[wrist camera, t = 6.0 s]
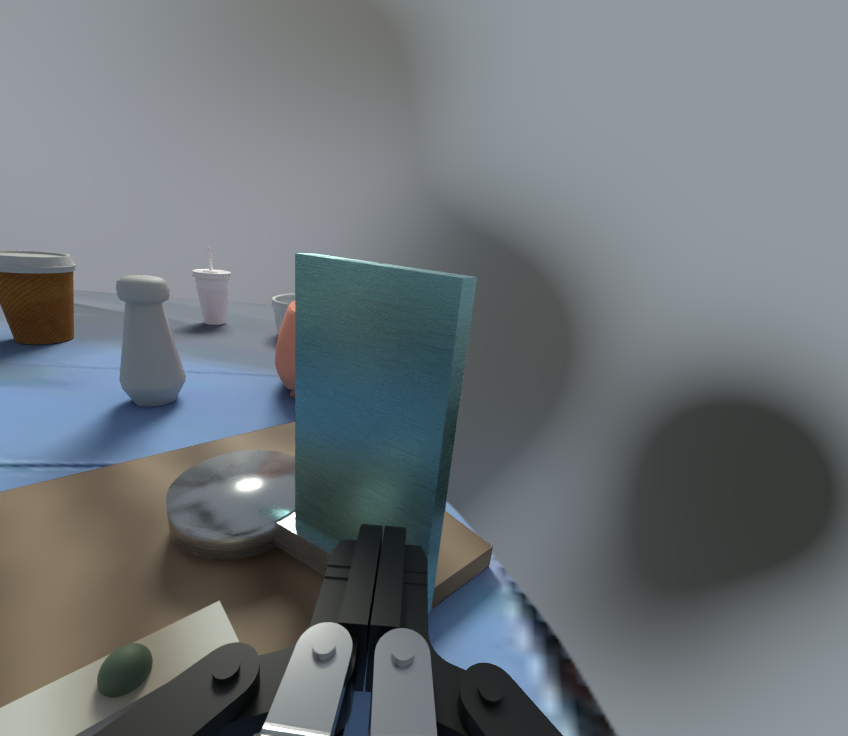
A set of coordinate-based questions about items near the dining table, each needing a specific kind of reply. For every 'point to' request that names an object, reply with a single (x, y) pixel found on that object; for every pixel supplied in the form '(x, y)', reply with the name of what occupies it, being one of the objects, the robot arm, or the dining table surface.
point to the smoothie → (212, 292)
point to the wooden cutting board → (143, 590)
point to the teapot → (287, 350)
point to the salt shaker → (148, 343)
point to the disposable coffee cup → (37, 295)
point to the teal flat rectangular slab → (346, 422)
